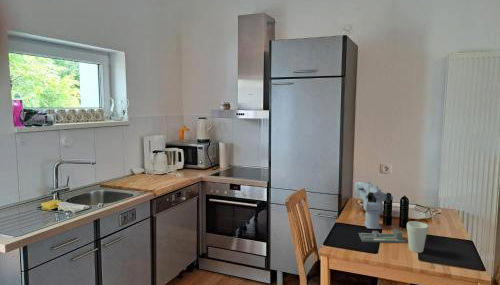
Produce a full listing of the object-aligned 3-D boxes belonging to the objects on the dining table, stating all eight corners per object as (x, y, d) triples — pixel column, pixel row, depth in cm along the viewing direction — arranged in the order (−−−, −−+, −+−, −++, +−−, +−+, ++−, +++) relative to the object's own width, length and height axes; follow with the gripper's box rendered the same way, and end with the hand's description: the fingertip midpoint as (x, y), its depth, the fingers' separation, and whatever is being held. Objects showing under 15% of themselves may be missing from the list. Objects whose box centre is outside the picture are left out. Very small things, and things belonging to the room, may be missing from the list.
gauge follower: (372, 234, 188) (372, 230, 188) (377, 234, 188) (377, 231, 188) (375, 239, 182) (375, 235, 181) (381, 239, 181) (381, 235, 181)
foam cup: (424, 247, 175) (425, 222, 174) (428, 254, 166) (430, 228, 165) (404, 245, 178) (405, 220, 176) (407, 252, 169) (408, 227, 167)
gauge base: (358, 234, 192) (358, 226, 191) (399, 235, 190) (399, 227, 189) (362, 242, 182) (363, 233, 181) (406, 243, 180) (406, 234, 179)
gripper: (363, 187, 196) (369, 193, 182) (389, 188, 194) (397, 194, 181) (362, 199, 196) (368, 206, 183) (389, 200, 195) (397, 207, 182)
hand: (383, 201), depth 182 cm, fingers open, 7 cm apart
